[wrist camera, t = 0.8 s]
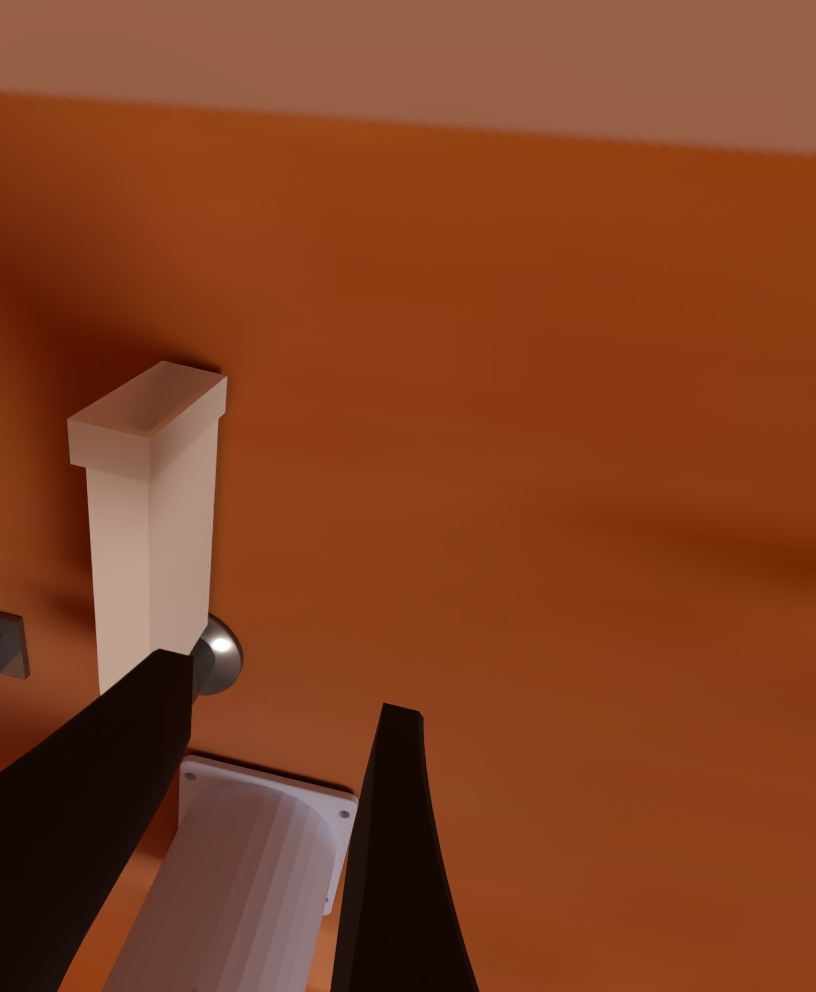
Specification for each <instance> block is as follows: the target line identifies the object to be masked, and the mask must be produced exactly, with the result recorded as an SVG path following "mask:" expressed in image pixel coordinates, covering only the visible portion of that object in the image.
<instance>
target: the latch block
mask: <svg viewBox="0 0 816 992" xmlns="http://www.w3.org/2000/svg"><path fill="white" fill-rule="evenodd" d="M0 674H4V675H8V676H12V677H17V678H21V679H25V680H26V678H27V677H28V676H29V675H30V671H29V663H28V656H27V649H26V642H25V634H24V627H23V620H22V618H21V617H17V616H13V615H9V614H5V613H0Z"/></svg>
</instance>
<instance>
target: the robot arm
mask: <svg viewBox="0 0 816 992" xmlns="http://www.w3.org/2000/svg"><path fill="white" fill-rule="evenodd" d="M193 665H194V657H193V656H189V655H185V654H180V653H176V652H172V651H168V650H164V649H160V648H159V649H157V650H155V651H153V652H152V653H151V654H149V655H148V656H147V657H146V658H145V659H144V660H142V661H141V662H140V663H139V664H138V665H137V666H135V667H134V668H133V669H132V670H131V671H130V672H128V673H127V674H126V675H125V676H124V677H123V678H121V679H120V680H119V681H118V682H117V683H115V684H114V685H113V686H112V687H111V688H109V689H108V690H107V691H106V692H104V693H103V694H102V695H101V696H100V697H98V698H97V699H96V700H95V701H93V702H92V703H91V704H90V705H88V706H87V707H86V708H85V709H83V710H82V711H81V712H80V713H78V714H77V715H76V716H74V717H73V718H72V719H71V720H69V721H68V722H67V723H65V724H64V725H63V726H62V727H60V728H59V729H58V730H56V731H55V732H54V733H53V734H51V735H50V736H49V737H47V738H46V739H45V740H44V741H42V742H41V743H39V744H38V745H37V746H35V747H34V748H33V749H31V750H30V751H29V752H27V753H26V754H24V755H23V756H22V757H20V758H19V759H17V760H16V761H15V762H13V763H12V764H10V765H9V766H8V767H6V768H5V769H3V770H2V771H1V772H0V992H57V991H58V989H59V987H60V985H61V982H62V980H63V978H64V976H65V974H66V972H67V970H68V968H69V966H70V964H71V962H72V960H73V958H74V956H75V954H76V952H77V951H78V949H79V947H80V945H81V943H82V941H83V939H84V937H85V935H86V933H87V932H88V930H89V928H90V927H91V925H92V923H93V921H94V920H95V918H96V916H97V914H98V913H99V911H100V909H101V907H102V906H103V904H104V902H105V900H106V899H107V897H108V895H109V893H110V892H111V890H112V888H113V886H114V885H115V883H116V881H117V879H118V878H119V876H120V874H121V872H122V871H123V869H124V867H125V865H126V864H127V862H128V860H129V858H130V857H131V855H132V853H133V851H134V850H135V848H136V846H137V844H138V843H139V841H140V839H141V837H142V836H143V834H144V832H145V830H146V829H147V827H148V825H149V823H150V822H151V820H152V818H153V816H154V815H155V813H156V811H157V809H158V807H159V806H160V804H161V802H162V800H163V798H164V797H165V794H166V792H167V790H168V788H169V786H170V783H171V781H172V779H173V777H174V774H175V772H176V770H177V768H178V765H179V763H180V761H181V758H182V756H183V754H184V751H185V749H186V747H187V744H188V742H189V740H190V737H191V714H192V689H193ZM423 722H424V718H423V716H422V715H421V714H420V712H419V711H416V710H412V709H407V708H403V707H399V706H395V705H391V704H387V703H383V707H382V711H381V715H380V718H379V722H378V726H377V730H376V734H375V738H374V742H373V746H372V750H371V753H370V757H369V761H368V765H367V769H366V773H365V777H364V781H363V785H362V790H361V794H360V799H359V804H358V799H357V797H356V796H354V795H353V794H350V793H347V792H343V791H339V790H335V789H331V788H326V787H322V786H318V785H314V784H310V783H306V782H302V781H298V780H294V779H290V778H286V777H281V776H277V775H273V774H269V773H265V772H261V771H257V770H253V769H249V768H245V767H241V766H236V765H232V764H228V763H224V762H220V761H216V760H212V759H208V758H204V757H200V756H195V755H188V756H185V757H184V758H183V760H182V762H181V764H180V782H179V816H178V831H177V833H176V835H175V837H174V839H173V841H172V843H171V846H170V848H169V850H168V852H167V854H166V856H165V858H164V860H163V862H162V865H161V867H160V869H159V871H158V873H157V875H156V877H155V879H154V881H153V884H152V886H151V888H150V890H149V892H148V894H147V896H146V898H145V900H144V903H143V905H142V907H141V909H140V911H139V913H138V915H137V917H136V919H135V922H134V924H133V926H132V928H131V930H130V932H129V934H128V936H127V938H126V941H125V943H124V945H123V947H122V949H121V951H120V953H119V955H118V957H117V960H116V962H115V964H114V966H113V968H112V970H111V972H110V974H109V976H108V979H107V981H106V983H105V985H104V987H103V989H102V991H101V992H305V990H306V986H307V981H308V977H309V972H310V968H311V964H312V959H313V955H314V951H315V946H316V942H317V938H318V933H319V929H320V925H321V920H322V916H323V915H327V914H329V913H330V912H331V909H332V905H333V901H334V897H335V893H336V889H337V885H338V881H339V878H340V874H341V870H342V866H343V862H344V858H345V854H346V850H347V847H348V843H349V839H350V835H351V831H352V827H353V831H352V835H351V840H350V846H349V854H348V861H347V869H346V876H345V884H344V891H343V899H342V906H341V914H340V921H339V929H338V937H337V944H336V952H335V959H334V967H333V974H332V982H331V990H330V992H479V989H478V986H477V983H476V980H475V976H474V973H473V970H472V967H471V964H470V960H469V957H468V954H467V951H466V947H465V944H464V940H463V937H462V933H461V930H460V926H459V923H458V919H457V915H456V912H455V908H454V904H453V900H452V896H451V892H450V888H449V884H448V880H447V876H446V872H445V867H444V863H443V858H442V854H441V849H440V844H439V839H438V834H437V829H436V824H435V819H434V814H433V808H432V802H431V796H430V790H429V783H428V775H427V768H426V759H425V748H424V729H423ZM357 807H358V808H357ZM356 812H357V813H356ZM355 815H356V817H355ZM354 819H355V822H354ZM353 823H354V826H353Z"/></svg>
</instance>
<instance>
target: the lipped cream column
mask: <svg viewBox="0 0 816 992" xmlns="http://www.w3.org/2000/svg"><path fill="white" fill-rule="evenodd" d="M226 388H227V376H226V375H222V374H218V373H213V372H209V371H205V370H201V369H197V368H192V367H188V366H184V365H180V364H175V363H171V362H167V361H161V362H159V363H158V364H156V365H154V366H153V367H151V368H150V369H148V370H146V371H145V372H143V373H141V374H140V375H138V376H136V377H135V378H133V379H132V380H130V381H128V382H127V383H125V384H123V385H122V386H120V387H118V388H117V389H115V390H114V391H112V392H110V393H109V394H107V395H105V396H104V397H102V398H100V399H99V400H97V401H96V402H94V403H92V404H91V405H89V406H87V407H86V408H84V409H82V410H81V411H79V412H78V413H76V414H74V415H73V416H71V417H69V418H68V419H67V426H68V439H69V452H70V464H73V465H77V466H81V467H85V468H86V477H87V493H88V509H89V525H90V541H91V557H92V573H93V589H94V605H95V621H96V636H97V652H98V668H99V684H100V696H101V695H102V694H103V693H104V692H106V691H107V690H108V689H109V688H111V687H112V686H113V685H114V684H115V683H117V682H118V681H119V680H120V679H121V678H123V677H124V676H125V675H126V674H127V673H128V672H130V671H131V670H132V669H133V668H134V667H135V666H137V665H138V664H139V663H140V662H141V661H142V660H144V659H145V658H146V657H147V656H148V655H149V654H151V653H152V652H153V651H155V650H157V649H159V648H160V649H164V650H168V651H172V652H176V653H180V654H185V655H189V654H190V652H191V650H192V649H193V647H194V646H195V644H196V642H197V641H198V639H199V637H200V636H201V634H202V633H203V631H204V629H205V628H206V626H207V624H208V605H209V586H210V567H211V548H212V530H213V511H214V492H215V473H216V454H217V436H218V419H219V418H220V417H221V416H222V415H223V414H224V413H225V405H226Z"/></svg>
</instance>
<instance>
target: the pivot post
mask: <svg viewBox="0 0 816 992" xmlns="http://www.w3.org/2000/svg"><path fill="white" fill-rule="evenodd" d="M189 656H193V657H194V665H193V689H192V706H193V704H194V702H195V701H196V699H197V697H198V695H212V694H216V693H219V692H222V691H224V690H226V689H227V688H229V687H230V686H231V685H232V684H233V683H234V682H235V681H236V679H237V677H238V675H239V673H240V671H241V669H242V665H243V653H242V649H241V646H240V644H239V642H238V640H237V638H236V637H235V635H234V634H233V633H232V631H231V630H230V629H229V628H228V627H227V626H226V625H225V624H224V623H223V622H221V621H220V620H219V619H217V618H216V617H214V616H213V615H211V614H209V613H208V624H207V626H206V628H205V629H204V631H203V633H202V634H201V636H200V637H199V639H198V641H197V642H196V644H195V646H194V647H193V649H192V650H191V652H190V654H189Z"/></svg>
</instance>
